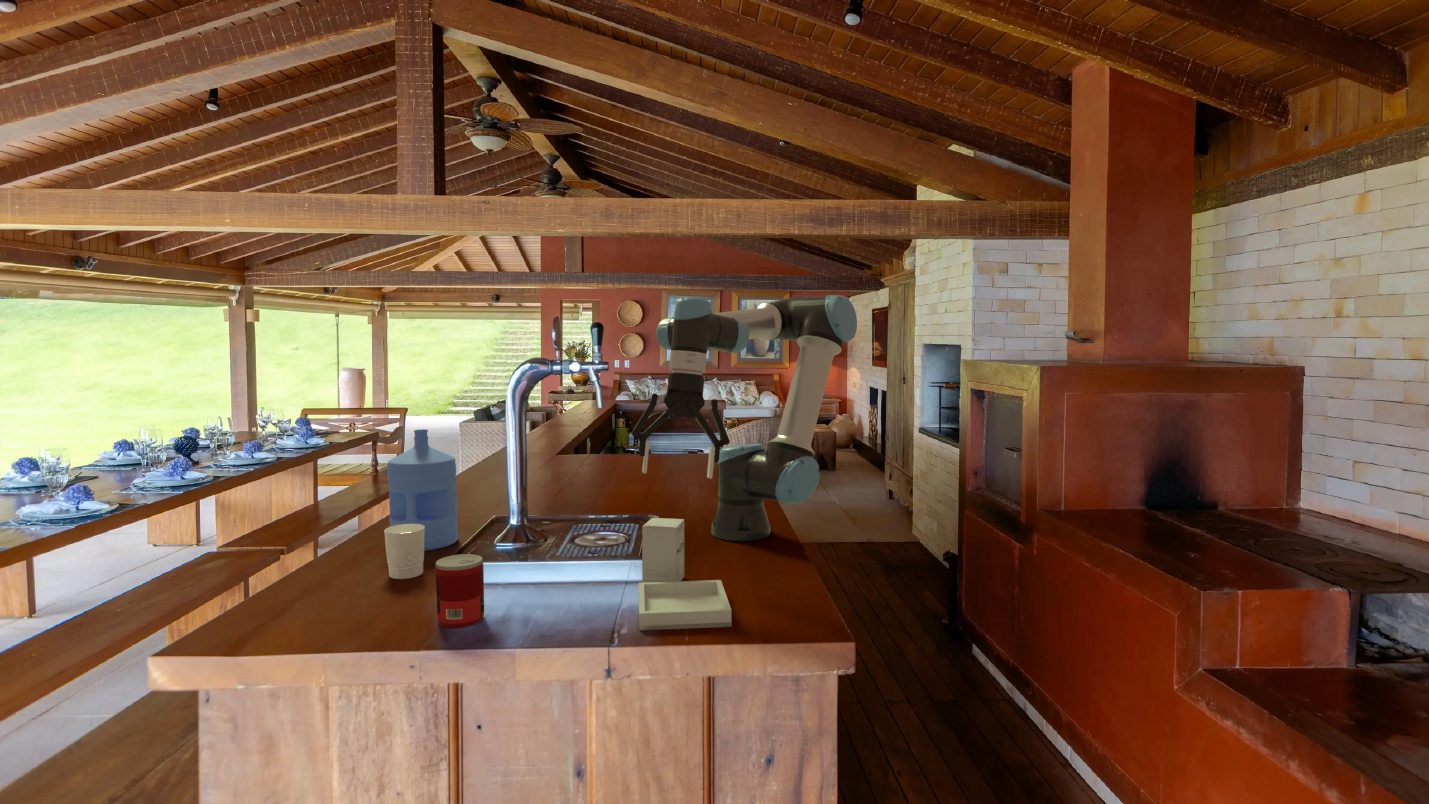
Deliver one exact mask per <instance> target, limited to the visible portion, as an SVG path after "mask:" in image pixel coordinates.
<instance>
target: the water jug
mask: <svg viewBox="0 0 1429 804" xmlns="http://www.w3.org/2000/svg"><path fill="white" fill-rule="evenodd" d="M428 432H429V429H426V428H425V429H424V428H423V429H415V430H413V433H414V436H413V440H414V446H413V447H412V448H410V449H408V450H405V451H404V452H402V453H401V454H399V455H396V456H395V457H393V458H390V459H389V460H388V461H387V468H386V471H387V472H386V476H387V483H388V496H389V502H388V503H389V527H391V526H395V525H401V524H420V525H423V526H425V535H424V552H427V551H434V550H439V549H443V548H446V547H449V546H451V545H454V544H455V543H456V542H457V541H458V539H459V529H458V497H457V464H456V458H455V457H454V456H453V455H450V454H449V453H446V452H443V451H440V450H438V449H435V448H433V447H431V446H430V445H429V435H428Z"/></svg>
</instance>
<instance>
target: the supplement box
mask: <svg viewBox="0 0 1429 804" xmlns="http://www.w3.org/2000/svg"><path fill="white" fill-rule="evenodd" d="M641 531H642V532H641V535H642V536H641V537H642V538H641V539H642V540H641V541H642V542H641V543H642V547H641V549H642V550H641V551H642V553H641V554H642V555H641V558H642V559H641V561H642V562H641V564H642V565H641V566H642V567H641V569H642V571H641V572H642V573H641V577H642V580H641V581H642V582H641V583H647V582H676V581H683V579H684V577H685V519H684V518H683V519H682V518H664V517H661V518H660V517H651V518H650V519H649V520H647V522H646V523H644V524H643V525H642V526H641Z"/></svg>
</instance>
